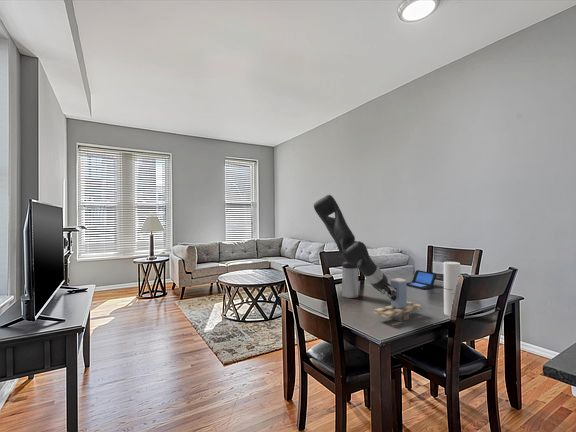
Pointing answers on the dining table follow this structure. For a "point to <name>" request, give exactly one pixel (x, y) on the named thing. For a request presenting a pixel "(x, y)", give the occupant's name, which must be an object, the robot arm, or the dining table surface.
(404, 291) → the blue rectangular block
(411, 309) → the ginger root
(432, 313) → the dining table surface
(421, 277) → the handheld game console
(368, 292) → the dining table surface
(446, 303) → the cylindrical container
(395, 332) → the dining table surface
